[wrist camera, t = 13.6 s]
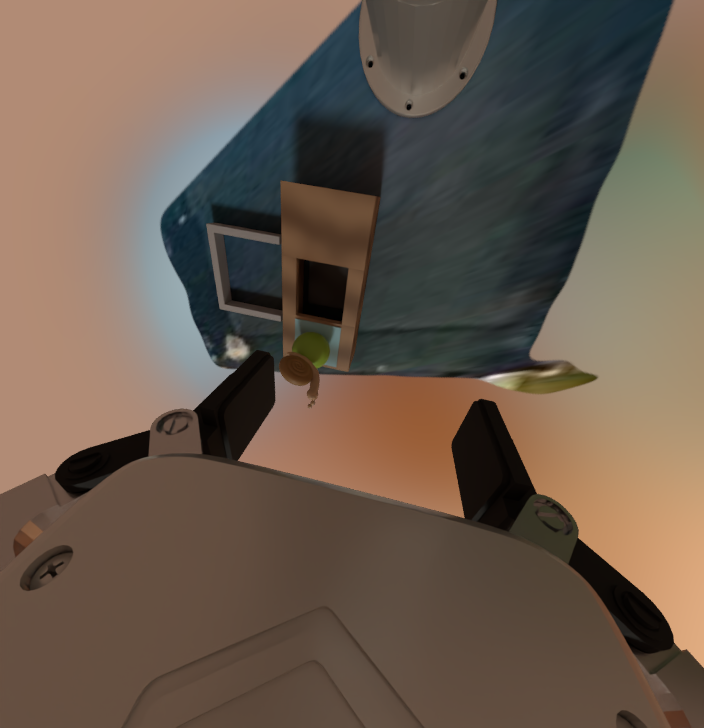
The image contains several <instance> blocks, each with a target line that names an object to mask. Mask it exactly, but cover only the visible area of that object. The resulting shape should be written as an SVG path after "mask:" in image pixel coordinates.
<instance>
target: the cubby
mask: <svg viewBox="0 0 704 728" xmlns="http://www.w3.org/2000/svg"><path fill="white" fill-rule="evenodd" d="M206 225H207V232H208V238H209V244H210V250H211V257H212V263H213V269H214V275H215V282H216V288H217V294H218V300H219V307H220V309H223V310H228V311H232V312H237V313H242V314H247V315H252V316H256V317H261V318H266V319H271V320H276V321H282V320H283V311H281V310H277V309H272V308H267V307H262V306H257V305H252V304H247V303H242V302H238V301H233V300H232V297H231V290H230V282H229V274H228V266H227V259H226V251H225V243H224V236H223V234H224V235H230V236H235V237H241V238H246V239H252V240H257V241H262V242H268V243H273V244H279V245H280V244H282V235H281V234H275V233H270V232H264V231H259V230H253V229H248V228H242V227H237V226H231V225H226V224H220V223H207V224H206Z"/></svg>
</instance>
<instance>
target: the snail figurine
mask: <svg viewBox="0 0 704 728" xmlns="http://www.w3.org/2000/svg"><path fill="white" fill-rule="evenodd" d="M287 355H288V356H285V357H283V358H282V359H281V361H280V364H279V369H280V372H281V374H282V376H283V377H284V378H285V379H286V380H287V381H288V382H290V383H292V384H294V385H298V386H302V385H306V384H308V383H309V382H310V389H309V390H308V391H307V396H308V398H309V399H310V400H312V401H311V404H309V405H308V408H311V407H312V405H314V404H315V402H314V401H313V400H315V399H317V396H318V388H319V372H318V370H317V368H319V367H321V366H323V365H324V364H325V363H326V362H327V360H328V358H329V355H330V346H329V343H328V341H327V340H326V339H325V337H323V336H322V335H321V334H319V333H316V332H306V333H303V334H301V335H300V336H298V337H297V338H296V340H295V341H294V343H293V346H292V352H287Z"/></svg>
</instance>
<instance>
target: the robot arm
mask: <svg viewBox="0 0 704 728" xmlns="http://www.w3.org/2000/svg"><path fill="white" fill-rule="evenodd" d="M496 5H497V0H362V6H361V12H360V20H359V45H360V56H361V60H362V65H363V69H364V73H365V76H366V79H367V81H368V83H369V86H370V88H371V90H372V92H373V94H374V95H375V96H376V98H377V99H378V100H379V102H380V103H381V104H382V105H383V106H384V107H386V108H387V109H388V110H389V111H391V112H393V113H395V114H396V115H398V116H402V117H407V118H421V117H424V116H427V115H431V114H433V113H435V112H437V111H439V110H440V109H442V108H444V107H445V106H446V105H447V104H449V103H450V102H451V101H452V100H453V99H455V98H456V96H457V95H458V94H459V93H460V92H461V91H462V90H463V88H464V87H465V86H466V84H467V83H468V81H469V80H470V78H471V77H472V75H473V74H474V72H475V70H476V68H477V66H478V65H479V63H480V61H481V59H482V56H483V54H484V51H485V49H486V47H487V44H488V41H489V38H490V34H491V31H492V27H493V24H494V18H495V11H496ZM371 62H372V63H373V66H372V68H369V63H371ZM461 74H464V76H465V78H464V79H462V80H461V79H460V75H461ZM408 105H411V109H410V110H407V106H408ZM274 380H275V379H274V358H273V357H272V356H271V355H270V353H269V352H264V351H259V350H256V351H255V352H254V353H253V354H252V355H251V356H250V357H249V358H248V359H247V360H246V361H245V362H244V363H243V364H242V365H241V366H240V367H239V368H238V369H237V370H236V371H235V372H234V373H232V374H231V375H229V376H228V377H227V378H226V379H225V380H224V381H223V382H222V383H221V384H220V385H219V386H218V387H217V388H216V389H215V390H214V391H213V392H212V393H211V394H210V395H209V396H208V397H207V398H206V399H205V400H204V401H203V402H202V403H201V404H199V405H198V407H196V408H195V410H193V411H192V410H188V409H176V410H172V411H169V412H166V413H164V414H162V415H161V416H159V417H158V418H157V419H156V420H155V421H154V422H153V423H152V426H151V429H150V430H148V431H145V432H142V433H138V434H135V435H131V436H128V437H124V438H121V439H118V440H114V441H111V442H108V443H104V444H101V445H97V446H94V447H90V448H87V449H85V450H82V451H80V452H78V453H76V454H74V455H72V456H71V457H69V458H68V459H67V460H65V461H64V462H63V463H62V464H61V465H60V466H59V467H58V469H57V471H56V473H55V474H53V475H50V476H49V477H48V476H47V475H46V474H43V475H41V476H39V477H37V478H35V479H32V480H30V481H28V482H26V483H24V484H22V485H20V486H17V487H15V488H13V489H11V490H9V491H7V492H4V493H3V494H0V728H704V668H703V667H702V666H701V665H700V664H699V662H698V661H697V660H696V659H695V658H694V657H693V656H692V655H691V654H690V653H689V652H688V651H687V650H682V651H681V650H680V649H679V648H678V647H677V646H676V644H675V643H674V639H673V633H672V631H671V628H670V626H669V624H668V622H667V621H666V619H665V617H664V616H663V615H662V613H661V612H660V610H659V609H658V608H657V607H656V605H655V604H654V603H653V602H652V601H651V600H650V599H649V598H648V597H647V596H646V595H645V594H644V593H643V592H641V591H640V590H639V589H638V588H637V587H635V586H634V585H633V584H632V583H631V582H630V581H628V580H627V579H626V578H625V577H623V576H622V575H621V574H620V573H619V572H618V571H617V570H615V569H614V568H613V567H612V566H611V565H609V564H608V563H607V562H606V561H605V560H604V559H602V558H601V557H600V556H599V555H598V554H596V553H595V552H594V551H593V550H592V549H590V548H589V547H588V546H587V545H586V544H585V543H583V542H582V541H581V540H580V539H579V538H578V531H579V530H578V527H577V524H576V522H575V520H574V518H573V517H572V515H571V514H570V513H569V512H568V511H567V510H566V509H565V508H564V507H563V506H562V505H561V504H560V503H558V502H557V501H555V500H553V499H552V498H550V497H547V496H545V495H540V494H537V493H536V491H535V489H534V486H533V484H532V482H531V480H530V478H529V476H528V473H527V471H526V469H525V467H524V464H523V462H522V460H521V458H520V455H519V453H518V451H517V449H516V447H515V445H514V443H513V440H512V439H511V436H510V434H509V432H508V430H507V428H506V425H505V423H504V421H503V419H502V417H501V414H500V412H499V410H498V408H497V405H496V403H495V402H493V401H488V400H484V399H479V400H478V401H474V402H473V404H472V406H471V407H470V409H469V411H468V413H467V415H466V417H465V419H464V421H463V422H462V424H461V426H460V428H459V430H458V431H457V434H456V435H455V437H454V439H453V441H452V452H453V458H454V463H455V469H456V474H457V479H458V485H459V490H460V495H461V501H462V506H463V511H464V517H465V518H461V517H457V516H454V515H450V514H447V513H443V512H439V511H435V510H431V509H427V508H424V507H419V506H416V505H412V504H408V503H404V502H400V501H397V500H393V499H389V498H385V497H381V496H377V495H373V494H369V493H365V492H361V491H357V490H354V489H350V488H345V487H342V486H338V485H334V484H329V483H326V482H322V481H318V480H314V479H310V478H306V477H302V476H298V475H294V474H290V473H285V472H281V471H277V470H274V469H270V468H266V467H261V466H257V465H253V464H248V463H244V462H240V461H238V459H239V458H240V456H241V455H242V453H243V452H244V450H245V449H246V447H247V446H248V444H249V443H250V441H251V440H252V438H253V436H254V435H255V433H256V432H257V430H258V429H259V427H260V426H261V424H262V423H263V421H264V420H265V418H266V417H267V415H268V413H269V412H270V411H271V409H272V408H273V406H274V403H275V382H274Z"/></svg>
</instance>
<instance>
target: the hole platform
mask: <svg viewBox="0 0 704 728" xmlns="http://www.w3.org/2000/svg"><path fill="white" fill-rule="evenodd" d="M379 203H380V197H377V196H371V195H365V194H359V193H353V192H347V191H341V190H335V189H329V188H323V187H317V186H310V185H304V184H298V183H292V182H286V181H281V232H282V297H283V357H285V356H288V355H287V352H292V346H293V343H294V341H295V340H296V338H297V337H298V336H300V335H301V334H303V333H306V332H316V333H319V334H321V335H322V336H323V337H325V339H326V340H327V341H328V343H329V346H330V355H329V358H328V360H327V362H326V363H325V364H324V365H323V366H324V367H328V368H333V369H337V370H342V371H346V372H348V371H349V368H350V365H351V362H352V359H353V356H354V353H355V347H356V341H357V335H358V329H359V323H360V317H361V311H362V305H363V299H364V293H365V287H366V281H367V275H368V269H369V263H370V257H371V251H372V245H373V239H374V233H375V227H376V221H377V215H378V209H379ZM304 260H309V261H310V269H309V292H308V303H312V304H317V305H322V306H327V307H332V308H337V309H342V310H344V311H343V318H342V322H341V321H336V320H331V319H326V318H321V317H316V316H311V315H306V314H303V281H304Z"/></svg>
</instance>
